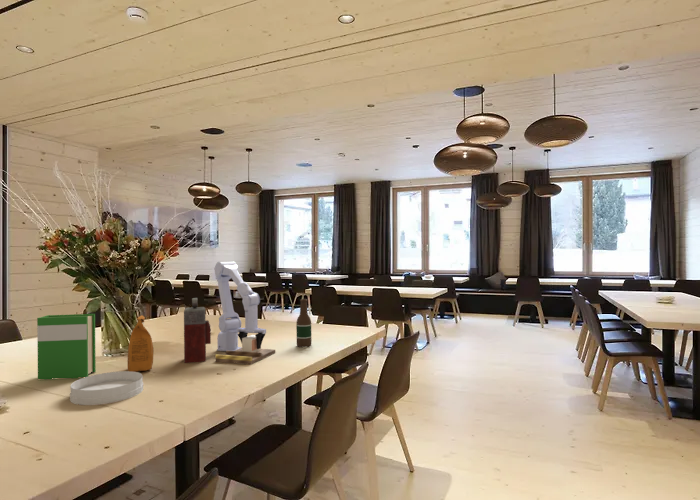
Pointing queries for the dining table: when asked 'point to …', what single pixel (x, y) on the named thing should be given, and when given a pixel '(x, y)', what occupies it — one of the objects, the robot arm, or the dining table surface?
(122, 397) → the dish
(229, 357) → the shelf board
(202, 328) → the dark red canister
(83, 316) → the hardback book
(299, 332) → the beer bottle
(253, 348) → the label carton
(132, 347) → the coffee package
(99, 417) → the dining table surface
